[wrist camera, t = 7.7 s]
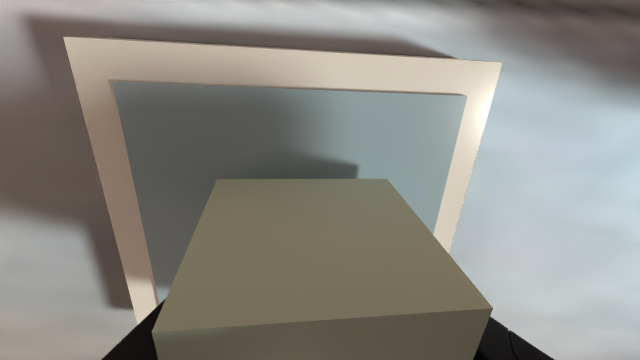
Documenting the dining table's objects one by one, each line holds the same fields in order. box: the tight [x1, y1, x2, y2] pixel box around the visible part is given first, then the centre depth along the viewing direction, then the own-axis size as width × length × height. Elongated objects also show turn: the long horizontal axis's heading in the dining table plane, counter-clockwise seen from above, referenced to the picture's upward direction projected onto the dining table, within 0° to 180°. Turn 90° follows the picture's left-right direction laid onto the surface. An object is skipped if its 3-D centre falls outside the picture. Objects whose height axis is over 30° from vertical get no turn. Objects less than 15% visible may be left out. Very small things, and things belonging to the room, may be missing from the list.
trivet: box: [63, 37, 502, 324], centre depth 12 cm, size 12×12×3 cm
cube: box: [152, 179, 493, 360], centre depth 8 cm, size 5×5×5 cm
